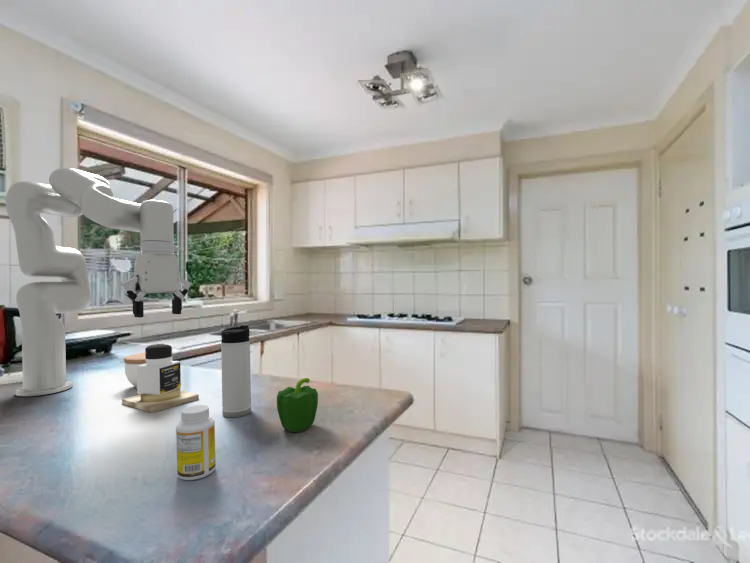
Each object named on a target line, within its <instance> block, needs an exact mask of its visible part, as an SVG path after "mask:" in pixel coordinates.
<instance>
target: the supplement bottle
mask: <svg viewBox="0 0 750 563" xmlns="http://www.w3.org/2000/svg"><path fill="white" fill-rule="evenodd" d="M209 409H210V407H209V406H208V405H203V404H198V405H196V404H195V405H191V406H188V407H185V408H183V409H182V410H181V413H180V414H181V416H180V417H181V418H180V419H181V421H180V422H178V423H177V424H176V427H175V428H176V429H175V437H176V438H175V439H176V472H177V476H178V478H179V479H180V480H184V481H195V480H196V481H197V480H200V479H203V478H205V477H207V476H209V475H211V474H212V473H213V472H214V471H215V469H216V463H217V462H216V430H215V426H216V425H215V419H214V418H213V417H211V416H210V410H209Z"/></svg>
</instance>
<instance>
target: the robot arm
mask: <svg viewBox="0 0 750 563" xmlns="http://www.w3.org/2000/svg"><path fill="white" fill-rule="evenodd" d="M48 182H49V183H48V184H46V183H43V182H36V181H30V180H29V181H27V180H26V181H18V182H14V183H13V184H11V186H9V188H8V190H7V192H6V195H5V196H6V197H5V209H6V212H7V215H8V216H7V217H8V218H9V220H10V223H11V226H12V228H13V230H14V233H15V234H14V235H15V243H16V251H17V257H18V258H17V259H18V265H19V268H20V272H21V273H22V274H23V275H25V276H26V277H30V278H36V279H37V278H38V279H39V278H42V279H43V278H44V279H46V278H47V279H48V278H50V279H61V281H32V282H29V283H26V284H23V285H22V286H20V288H19V289H18V291H17V292H16V299H15V300H16V304H17V309H18V312H19V318H20V323H21V351H22V353H21V354H22V355H21V356H22V357H21V358H22V361H21V362H22V387H20V388H17V389H16V390H15V395H16V396H17V397H36V396H44V395H49V394H55V393H60V392H63V391H67V390H69V389H71V388H72V387H73V385H74V384H73V383H74V382H72V381H69V380H67V367H66V366H67V363H66V361H67V359H66V355H67V354H66V330H65V328H66V327H65V325H64V323H63V322H62V321H61V319H60V318H59V316H58V315H57V314H67V313H70V314H71V313H78V312H82V311H84V310H86V309H87V308H88V307H89V306H90V303H91V285H90V281H89V280H90V279H89V272H88V266H87V261H86V258H85V256H84V255H83V253H82V252H81V251H79V250H78V249H76V248H73V247H67V246H65V247H64V246H59V245H57V244H56V241H55V235H54V231H53V228H52V227H51V225H50V224H49V223H48V222H47V220H46V219H45V218H44V217H42V216H41V214H47V215H52V216H53V215H54V216H60V217H65V218H79V217H80V216H82V215H83V216H84V217H86V218H87V219H89V220H91V221H93V222H94V223H96V224H97V225H98V224H99V225H100V226H102V227H105V228H108V229H115V230H121V231H128V232H135V233H140V234H139V235H140V241H139V242H140V253H137V254H136V258H135V260H134V266H133V276H132V277H131V278H130V279H128V280H125V281H124V282H122V283H120V285H119V286H120V287H121V289H122V291H123V292H124V295H125V296H126V297H127V298H128V299H129V300H130V301H131V302H132V314H133V317H134V318H143V317H144V316H145V314H144V312H145V311H144V301H143V300H142V299H143V298H144V296H145V295H146V294H161V293H162V294H164V293H165V294H167V293H169V294H170V295H171V296H172V297H173V299H171V313H172V314H173V315H181V314H182V310H183V304H182V302H183V299H184V298H185V296H186V295H187V294H188V292H189V289H190V287H191V286H192V285H191V284H192V283H191V282H189V281H188V280H185V279H184V278H182V277H181V274H180V266H179V262H178V257H177V255H176V254H175V252H178V250H179V247H178V245H177V246H176V245H175V242H174V241H175V240H174V239H175V238H174V236H175V234H174V232H175V231H174V230H175V229H174V228H175V227H174V207H173V205H172V204H171V203H170V202H168V201H164V200H156V199H149V200H143V201H142V202H141V203H139V202H138V203H137V202H133V201H129V200H124V199H121V198H120V199H119V198H115V197H114V193H113V190H112V186H111V184H110V182H109V181H108V180H107V179H106V178H104V177H103V176H100V175H99V174H94V173H91V172H87V171H85V170H81V169H76V168H72V167H70V168H69V167H60V168H57V169H55V170H53V171H52V172H51V173H50V175H49V177H48ZM181 285H182V288H181ZM131 286H132V288H131ZM132 289H133V290H132Z"/></svg>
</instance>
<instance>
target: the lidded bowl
mask: <svg viewBox="0 0 750 563" xmlns="http://www.w3.org/2000/svg"><path fill="white" fill-rule="evenodd" d="M173 355H174V354H173V353H172V359H171V361H173ZM123 363H124V373H125V376H126V379H127V381H128V382H129V383H130V384H131V385H132V386H133V387H134V388H135V389H137V366H139V365H143V364H147V362H146V360H145V352H140V353H135V354H130V355H127V356H124V358H123Z"/></svg>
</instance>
